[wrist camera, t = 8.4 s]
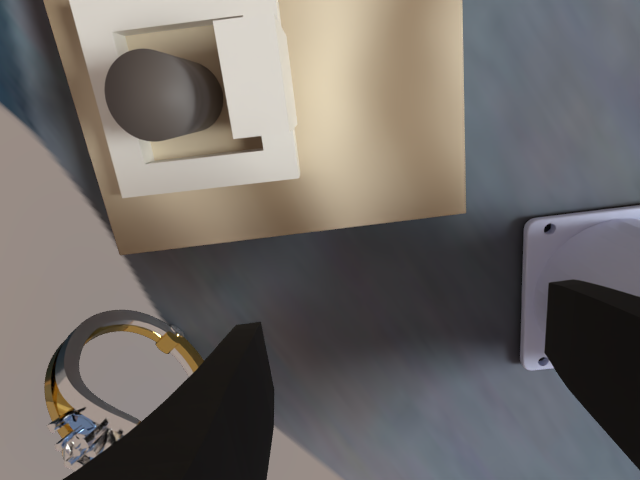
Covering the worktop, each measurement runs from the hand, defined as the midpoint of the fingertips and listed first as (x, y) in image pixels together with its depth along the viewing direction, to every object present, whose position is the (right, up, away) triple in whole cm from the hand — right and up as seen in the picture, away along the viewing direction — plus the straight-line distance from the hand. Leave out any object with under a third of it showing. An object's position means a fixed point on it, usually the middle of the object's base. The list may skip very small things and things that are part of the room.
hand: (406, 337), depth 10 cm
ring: (-10, -2, +11) cm, 15 cm away
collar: (-7, +8, +6) cm, 12 cm away
